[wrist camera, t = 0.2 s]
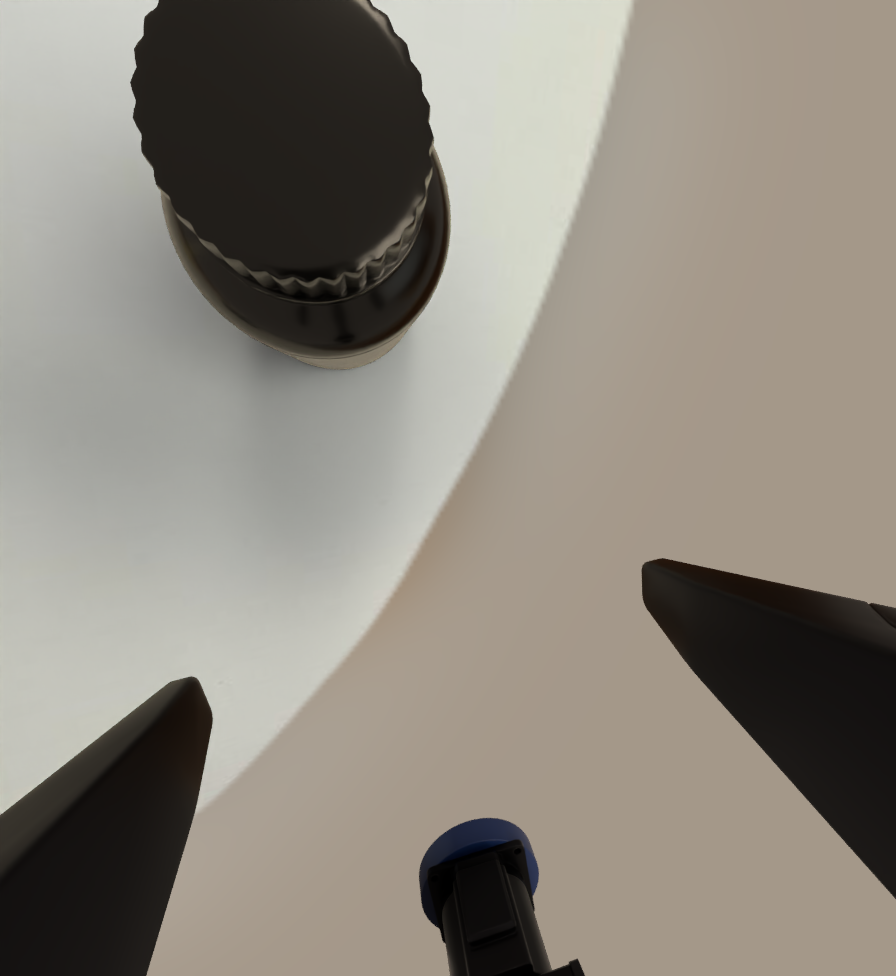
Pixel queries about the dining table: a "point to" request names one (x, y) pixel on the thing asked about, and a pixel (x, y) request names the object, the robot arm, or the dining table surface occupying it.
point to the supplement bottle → (295, 169)
